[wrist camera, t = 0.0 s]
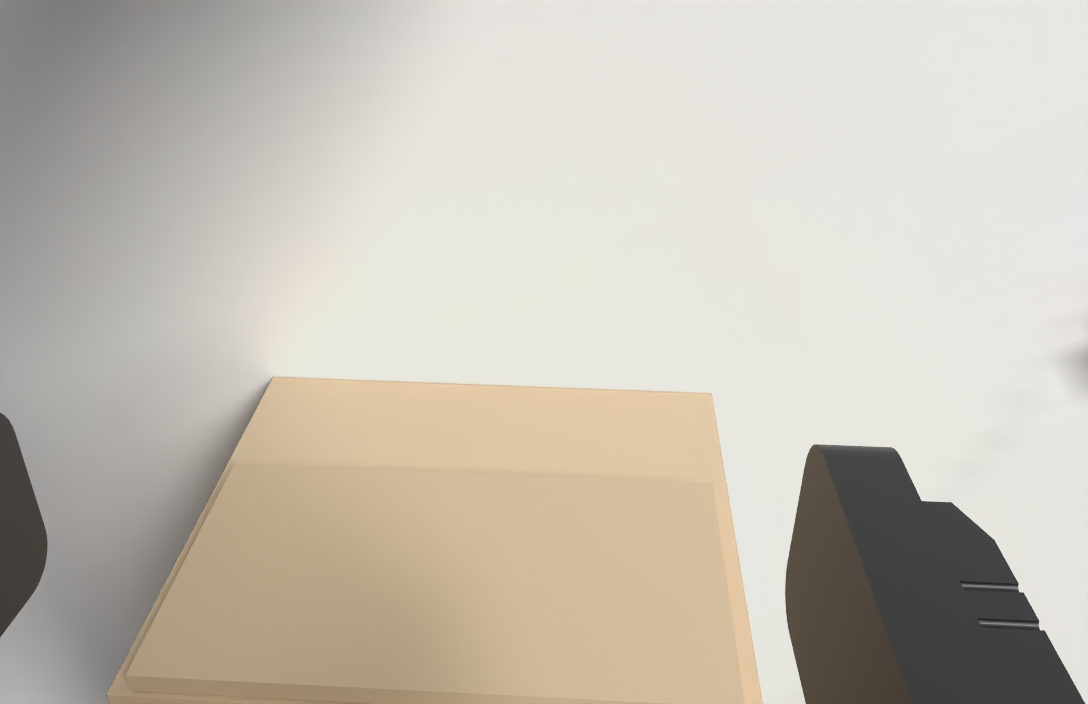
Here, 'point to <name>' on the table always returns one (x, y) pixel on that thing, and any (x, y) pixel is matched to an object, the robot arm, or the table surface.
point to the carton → (457, 555)
